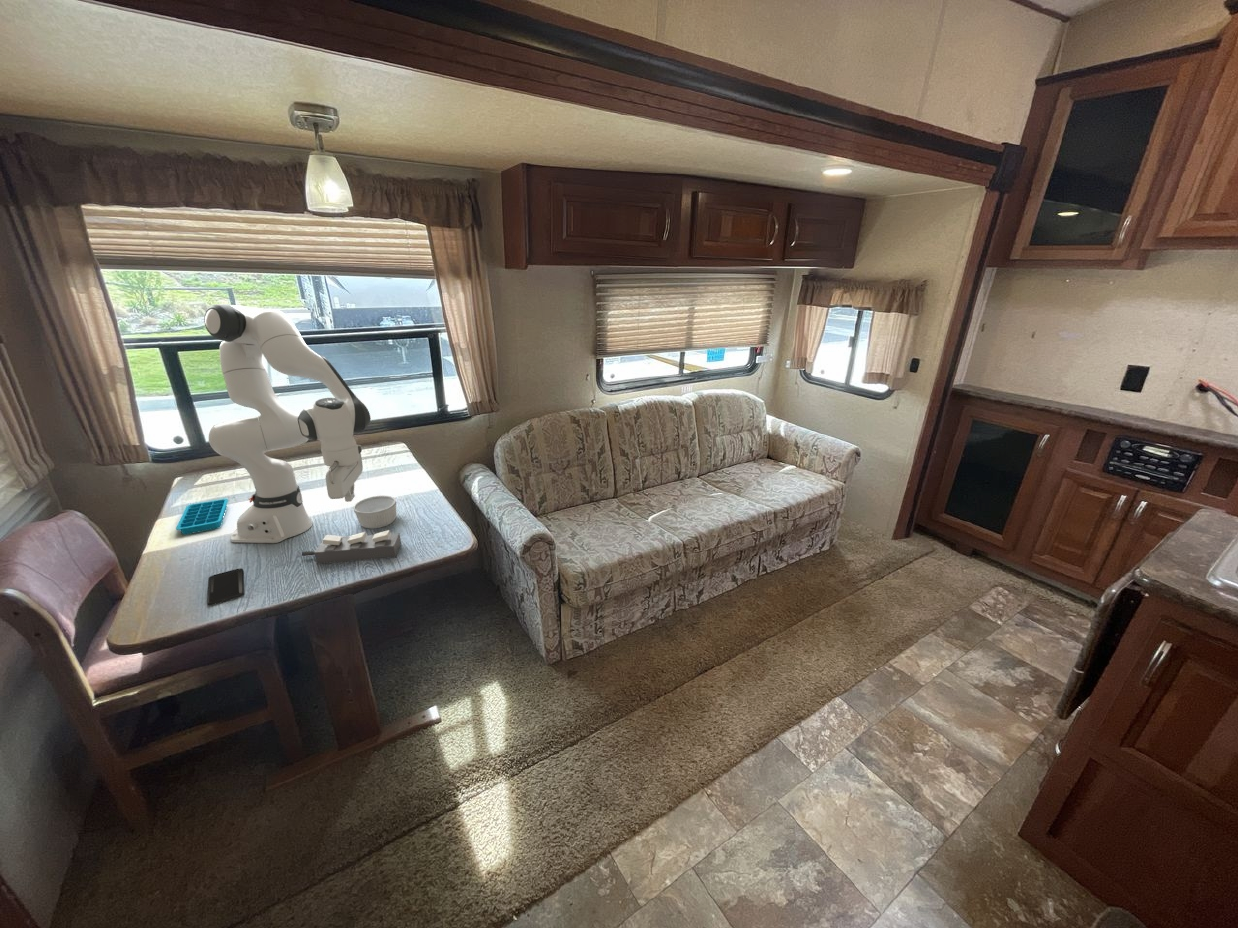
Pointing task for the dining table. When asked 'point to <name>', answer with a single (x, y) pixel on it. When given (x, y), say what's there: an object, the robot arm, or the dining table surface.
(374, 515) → the ramekin
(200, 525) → the ice cube tray
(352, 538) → the rocker
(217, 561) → the dining table surface
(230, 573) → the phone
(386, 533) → the block
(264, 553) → the dining table surface
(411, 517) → the dining table surface
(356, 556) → the power strip
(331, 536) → the rocker
